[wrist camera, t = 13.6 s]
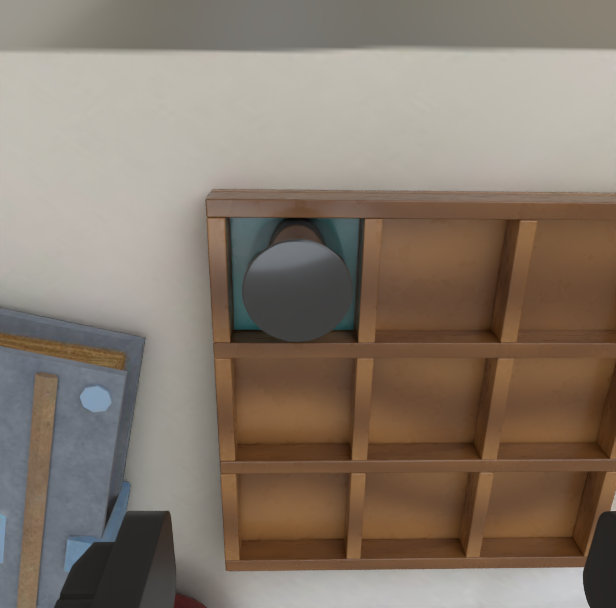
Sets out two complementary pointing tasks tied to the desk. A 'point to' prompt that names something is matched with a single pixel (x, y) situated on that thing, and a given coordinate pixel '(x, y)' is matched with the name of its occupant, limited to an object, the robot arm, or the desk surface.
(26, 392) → the book
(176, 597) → the apple
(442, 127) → the desk surface
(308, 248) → the dark grey cylinder
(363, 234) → the board
